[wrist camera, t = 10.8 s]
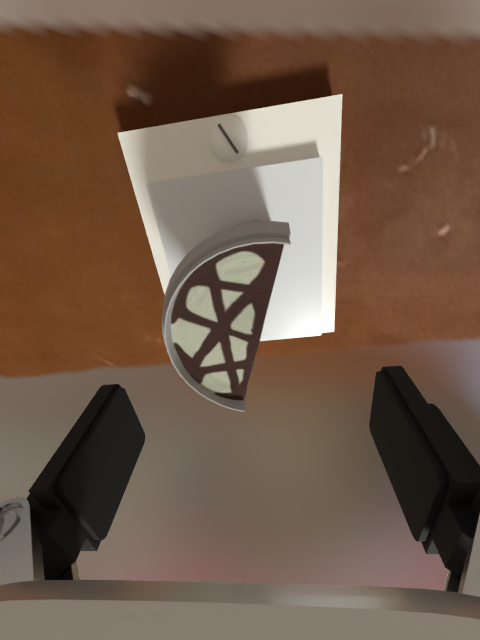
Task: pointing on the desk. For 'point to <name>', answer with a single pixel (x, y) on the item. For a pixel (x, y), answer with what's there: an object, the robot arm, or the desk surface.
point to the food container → (222, 308)
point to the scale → (249, 197)
